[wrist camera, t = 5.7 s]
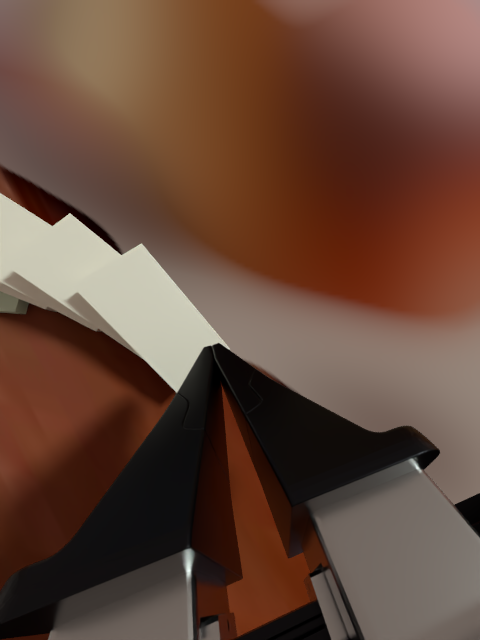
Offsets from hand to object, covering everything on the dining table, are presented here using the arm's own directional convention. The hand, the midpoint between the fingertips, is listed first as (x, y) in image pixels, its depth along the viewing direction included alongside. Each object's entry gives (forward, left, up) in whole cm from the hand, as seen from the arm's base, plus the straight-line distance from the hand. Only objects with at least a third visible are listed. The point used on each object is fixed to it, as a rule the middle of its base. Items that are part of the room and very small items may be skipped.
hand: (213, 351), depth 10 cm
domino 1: (-1, +1, -6) cm, 7 cm away
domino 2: (+2, +4, -7) cm, 8 cm away
